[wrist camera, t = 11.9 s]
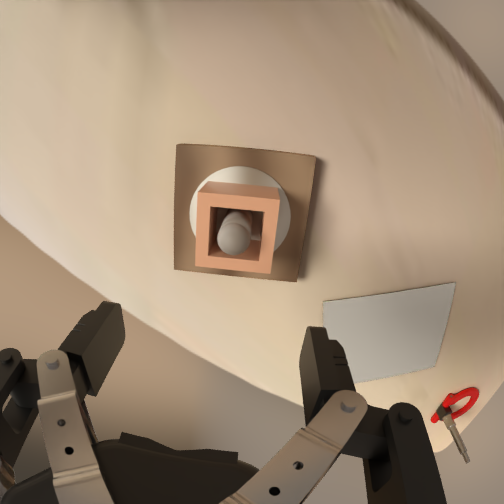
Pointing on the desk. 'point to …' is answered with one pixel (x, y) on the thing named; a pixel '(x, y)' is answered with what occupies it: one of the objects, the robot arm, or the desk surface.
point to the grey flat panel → (390, 330)
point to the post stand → (238, 220)
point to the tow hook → (455, 415)
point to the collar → (236, 198)
